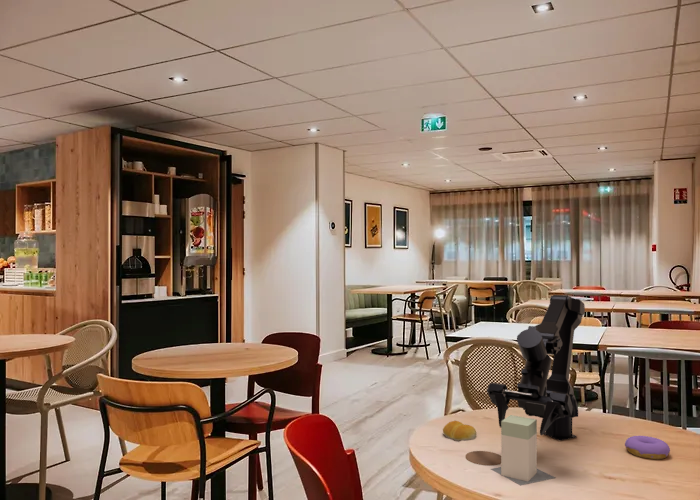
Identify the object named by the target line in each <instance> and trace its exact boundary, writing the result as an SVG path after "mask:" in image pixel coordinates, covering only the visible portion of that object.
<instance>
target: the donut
mask: <svg viewBox="0 0 700 500" xmlns="http://www.w3.org/2000/svg"><path fill="white" fill-rule="evenodd" d="M624 446H625V449H626V450H627V451H628V452H629V453H630V454H632V455H633V456H636V457H638V458H642V459H643V458H644V459H647V460H648V459H650V460H662V459H665V458H667V457H668V456H669V455H670V453H671V448H670V446H669V445H668V443H666V441H664V440H662V439H659V438H657V437H652V436H646V435H633V436H630V437H628V438H627V439H626V440H625V443H624Z"/></svg>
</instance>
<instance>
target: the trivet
mask: <svg viewBox="0 0 700 500" xmlns="http://www.w3.org/2000/svg"><path fill="white" fill-rule="evenodd" d="M465 459H466V461H468V462H469V463H472V464H475V465H478V466H499V465H501V454H498V453H496V452H493V451H492V452H491V451H486V450H474V451H470V452H468V453H466V454H465Z"/></svg>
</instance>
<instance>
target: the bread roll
mask: <svg viewBox="0 0 700 500" xmlns="http://www.w3.org/2000/svg"><path fill="white" fill-rule="evenodd" d="M442 433H443V435H444V436H445V437H446V438H447V439H450V440H453V441H456V442H461V441H471V440H475V439H476V437H477V434H478V433H477V430H476V428H475V427H474V426H472V425H469V424H465V423H463V422H461V421H458V420H451V421H449V422H448V423H447V424H445V425H444V426H443V428H442Z"/></svg>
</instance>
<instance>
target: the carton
mask: <svg viewBox="0 0 700 500" xmlns="http://www.w3.org/2000/svg"><path fill="white" fill-rule="evenodd" d="M537 427H538V421H537V419H535V418H531V417H525V416H518V415H513V414H510V415H508V416H507V417H505V419H504V420H502V421H501V428H500V430H501V433H500V434H501V435H500V441H501V442H500V444H501V445H500V447H501V449H500V455H501V464H500V465H501V466H500V467H501V475H500V476H502V475H503V476H502V477H504V476H507V477H511V478H515V479H520V480H524V481H529V480H530V479H531V478H532V477H533V476H534V475H535V474H536V473H537V469H538V464H537V463H538V461H537V460H538V454H537V453H538V452H537V450H538V448H537V446H538V445H537V443H538V442H537V439H538V438H537V437H538V435H537V434H538V432H537V431H538V430H537V429H538V428H537Z"/></svg>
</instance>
